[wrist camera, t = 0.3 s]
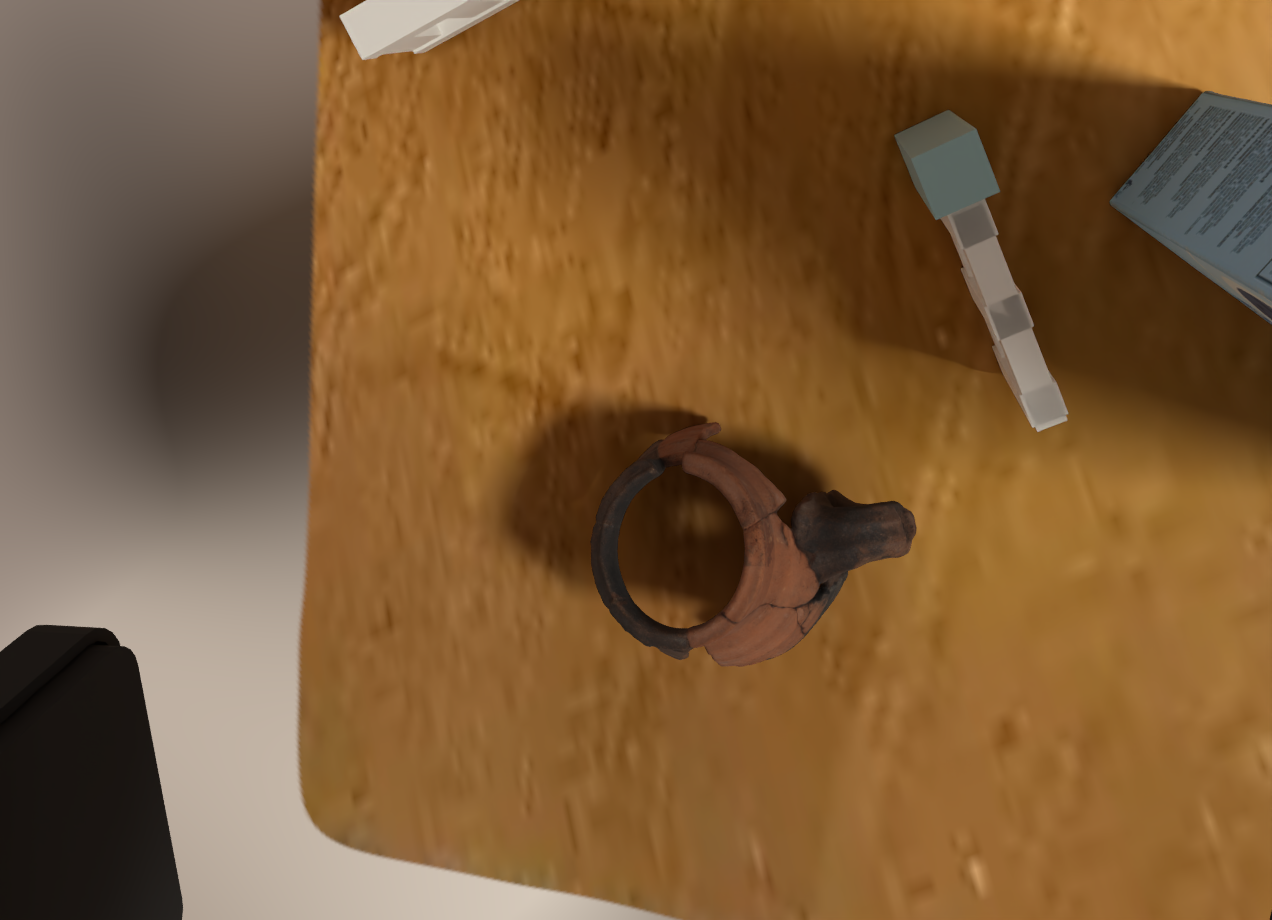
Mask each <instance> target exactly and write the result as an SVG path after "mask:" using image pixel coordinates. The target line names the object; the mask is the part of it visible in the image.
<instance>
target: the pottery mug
mask: <svg viewBox="0 0 1272 920" xmlns="http://www.w3.org/2000/svg"><path fill="white" fill-rule="evenodd" d="M720 431H721V427H720V425H719V423H716V422H714V423H706V424H701V425H696V426H692V427H688V428H685V429H683V430H680V431H677V432H675V433H673V434H671V435H669V436H668V437H666V438H665V439H664V440H658V441H656V442H655V443H654V444H652V445H651V446H650V447H649V448H648V449H647V450H646V451H645V452H644V453H643V454H642V456H641V457H639V459H638V460H637V461H636V462H634V463H633V464H632V465H631V466H629V467H628V468H627V469H626V470H624V472H622V473H621V475H620V476H619V477H618V478H617V479H616V480H615V481H614V483H613V484H612V485H611V486H610V487H609V489H608V491H607V492H606V494H605V496H604V497H603V499H602V501H601V504H600V506H599V509H598V512H597V515H596V524H595V525H594V527H593V534H592V538H591V566H592V571H593V575H594V579H595V584H596V586H597V589H598V592H599V594H600V595H601V598H602V601H603V603H604V605H605V606H606V607H607V608H608V609H609V611H610V613H611V614H612V616H613V617H614V618H615V619H616V620H617V622H618V623H620V624H621V626H622V627H623V628H624V630H625V631H627V632H629V633H630V634H631V635H632V636H633V637H634V638H636V639H637V640H639V641H640V642H642V643H643V644H644V645H645V646H649V647H651V646H654V647H657V648H658V649H659V650H660V651H661V652H663V653H665V654H667V655H669V656H671V657H673V658H675V659H679V660H682V659H685V658H687V657H688V656H689V653H688V652H689V651H690V650H691V649H693V648H697V647H701V646H705V648H706V650H707V652H708V654H709V655H711V656H712V658H713V659H714V660H715V661H716V662H717V663H718V664H719V665H720V666H739V667H741V666H746V665H752V664H756V663H758V662H761V661H764V660H768V659H771V658H774V657H777V656H779V655H781V654H783V653H785V652H787V651H788V650H790V649H791V648H793V647H794V646H795V645H796V644H797V643H798V642H800V641H801V640H802V639H803V638H804V637H805V636H806V635H807V633H808V632H809V631H810V630H811V629H812V628H813V626H814V625H815V624H816V623H817V621H818V620H819V619H820V618H821V616H822V615H823V614H824V612H825V611H826V610H827V609H828V607H829V606H830V604H831V603H832V602H833V601H834V599H835V597H836V596H837V594H838V592H839V591H840V589H841V587H842V585H843V583H844V581H845V580H846V578H847V575H848V571H849V570H852V569H855V568H858V567H860V566H862V565H864V564H866V563H869V562H872V561H876V560H881V559H886V558H898V557H901V556H904V555H905V554H907V553H908V552H909V550H910V548H911V543H912V539H913V537H914V536H915V534H916V524H915V519H914V516H913V514H912V512H911V511H909V510H907V509H905V508H904V507H903V506H902V505H901V504H900V503H898V502H895V501H889V502H880V503H874V504H859V503H855V502H853V501H851V500H849V499H848V498H846V497H844V496H843V495H842V494H841V493H839V492H838V491H836V490H832V491H830V492H828V493H827V494H826V492H820V493H816V492H812V493H809V494H807V495H806V496H805V497H804V498H803V499H802V501H801V502H800V503H799V504H798V505H797V506H796V507H795V509H794V511H793V515H792V518H791V524H792V529H790V528H789V527H788V526H787V525H786V524H785V523H783V522H782V521H781V519H780V518H779V517H778V515H777V511H778V510H779V509H780V507H782V506H783V505H784V503H785V502H786V498H785V496H784V495H783V494H782V492H781V491H780V490H778V489H777V488H776V486H775V485H774V484H773V483H772V482H771V481H770V480H769V479H767V478H766V477H765V476H764V475H763V473H762V472H761V471H760V470H759V469H758V468H757V467H755V466H754V465H753V464H751V463H749V462H748V461H746V460H745V459H743V458H742V457H740V456H739V455H738V454H737V453H735V452H733V451H732V450H731V449H729V448H727V447H725V446H723V445H721V444H718V443H715V442H712V441H707V440H706V439H707V438H708V437H710V436H712V435H715V434H717V433H719V432H720ZM677 465H682V469H683V471H684V472H686V473H688V474H691V475H695V476H697V477H699V478H702V479H703V480H706V481H707V482H709V483H711V484H712V485H714V486H715V487H716V488H717V489H718V490H719V491H720V492H721V493H722V494H723V495H724V497H725V498H726V499H727V500H728V502H729V503H730V505H731V506H732V508H733V510H734V512H735V514H736V516H737V518H738V520H739V522H740V525H741V527H742V528H743V530H744V544H745V554H744V566H743V571H742V575H741V578H740V582H739V584H738V587H737V589H736V591H735V593H734V595H733V597H732V599H731V600H730V602H729V603H728V604H727V605H726V606H725V608H724V609H723V610H722V611H721V612H720V613H718V614H717V615H716V616H715V617H714V618H712V619H710V620H709V621H707V622H705V623H703V624H700V625H697V626H693V627H690V628H688V629H687V628H683V629H681V628H673V627H669V626H666V625H663V624H661V623H659V622H657V621H655V620H653V619H651V618H650V617H649V616H647V615H646V614H645V613H644V612H643V611H642V610H641V609H640V608H639V607H638V606H637V605H636V604H635V603H634V601H633V600H632V598H631V597H630V595H629V593H628V591H627V589H626V587H625V585H624V581H623V579H622V576H621V573H620V569H619V563H618V553H617V549H618V537H619V531H620V526H621V523H622V520H623V517H624V514H625V512H626V509H627V507H628V506H629V504H630V502H631V500H632V499H633V498H634V496H635V495H636V494H637V493H638V492H639V491H640V490H641V489H642V488H643V487H644V486H645V485H646V484H647V483H649V482H650V481H651V480H653V479H655V478H657V477H658V476H660V475H661V474H662V473H663V472H664V470H665V468H666V467H671V466H677ZM821 583H822V585H821V587H820V589H819V586H820V584H821Z"/></svg>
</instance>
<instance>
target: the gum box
mask: <svg viewBox="0 0 1272 920" xmlns="http://www.w3.org/2000/svg"><path fill="white" fill-rule="evenodd" d="M1109 203H1110V205H1111V206H1112V207H1114V208H1115V209H1116V210H1118V211H1119V212H1120V213H1122V214H1123V215H1125V216H1126V217H1127V218H1129V219H1130V220H1131V221H1133V222H1134V223H1135V224H1137V225H1138V226H1139V227H1141V228H1142V229H1143V230H1144V231H1146V232H1147V233H1148V234H1150V235H1151V236H1152V237H1154V238H1155V239H1156V240H1158V241H1159V242H1160V243H1162V244H1163V245H1164V246H1166V247H1167V248H1168V249H1170V250H1171V251H1172V252H1174V253H1175V254H1176V255H1178V256H1179V257H1180V258H1182V259H1183V260H1184V261H1186V262H1187V263H1188V264H1190V265H1191V266H1192V267H1194V268H1195V269H1197V270H1198V271H1199V272H1201V273H1202V274H1203V275H1205V276H1206V277H1207V278H1209V279H1210V280H1212V281H1213V282H1214V283H1216V284H1217V285H1218V286H1220V287H1221V288H1223V289H1224V290H1225V291H1227V292H1228V293H1229V294H1231V295H1232V296H1233V297H1235V298H1236V299H1238V300H1239V301H1240V302H1242V303H1243V304H1244V305H1246V306H1247V307H1248V308H1250V309H1251V310H1252V311H1254V312H1255V313H1256V314H1258V315H1259V316H1260V317H1262V318H1263V319H1264V320H1266V321H1267V322H1269V323H1270V324H1271V325H1272V105H1271V104H1266V103H1260V102H1256V101H1251V100H1246V99H1241V98H1236V97H1231V96H1226V95H1222V94H1218V93H1214V92H1212V91H1205V92H1203V93H1202V94H1201V95H1200V96H1199V97H1198V99H1197V100H1196V101H1195V102H1194V103H1193V104H1192V106H1191V107H1190V108H1189V109H1188V110H1187V112H1186V113H1185V114H1184V115H1183V116H1182V117H1181V119H1180V120H1179V121H1178V122H1177V123H1176V125H1175V126H1174V127H1173V128H1172V129H1171V130H1170V132H1169V133H1168V134H1167V135H1166V136H1165V138H1164V139H1163V140H1162V141H1161V142H1160V144H1159V145H1158V146H1157V147H1156V148H1155V149H1154V151H1153V152H1152V153H1151V154H1150V155H1149V156H1148V157H1147V159H1146V160H1145V161H1144V162H1143V163H1142V164H1141V165H1140V167H1139V168H1138V169H1137V170H1136V171H1135V172H1134V173H1133V175H1132V176H1131V177H1130V178H1129V179H1128V180H1127V181H1126V183H1125V184H1124V185H1123V186H1122V187H1121V188H1120V189H1119V191H1118V192H1117V193H1116V194H1115V195H1114V196H1113V198H1112V199H1111V200H1110V202H1109Z"/></svg>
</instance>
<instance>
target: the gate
mask: <svg viewBox="0 0 1272 920" xmlns="http://www.w3.org/2000/svg"><path fill="white" fill-rule="evenodd" d="M517 1H519V0H366V1H364V2H363V3H361V4H359V5H357V6H356V7H354V8H352V9H350V10H349V11H347V12H345V13H343V14H342V15H340V16H339V17H340V18H341V20H342V22H343V24H344V26H345V28H346V30H347V32H348V34H349V36H350V37H351V39H352V41H353V43H354V45H355V47H356V49H357V51H358V53H359V55H360V56H361V58H362V60H365V59H374V58H377V57H379V56H381V55H382V54H390V53H399V52H408V51H413V52H414V54H416V53H425V52H427V51H428V50H430V49H432V48H434V47H436V46H437V45H439V44H441V43H443V42H445V41H447V40H448V39H450V38H452V37H454V36H456V35H457V34H459V33H461V32H463V31H465V30H466V29H468V28H470V27H472V26H474V25H476V24H477V23H479V22H481V21H483V20H485V19H486V18H488V17H490V16H492V15H494V14H496V13H497V12H499V11H501V10H503V9H505V8H506V7H508V6H510V5H512V4H514V3H515V2H517Z"/></svg>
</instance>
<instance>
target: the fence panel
mask: <svg viewBox="0 0 1272 920" xmlns="http://www.w3.org/2000/svg"><path fill="white" fill-rule="evenodd" d="M940 219H941V220H942V222H943V223H944V225H945V226H946V228H947V229H948V231H949V232H950V234H951V237H952V239H953V242H954V244H955V247H956V249H957V252H958V254H959V257H960V259H961V262H962V264H963V268H961V271H962V274H963V276H964V279H965V281H966V284H967V286H968V289H969V291H970V294H971V296H972V298H973V300H974V302H975V304H976V305H977V307H978V309H979V310H980V312H981V314H982V315H983V317H984V319H985V321H986V324H987V326H988V329H989V331H990V334H991V336H992V339H993V341H994V344H995V345H994V346H992V348H993V351H994V353H995V356H996V358H997V361H998V363H999V366H1000V368H1001V371H1002V373H1003V375H1004V377H1005V379H1006V381H1007V383H1008V384H1009V386H1010V388H1011V390H1012V392H1013V394H1014V395H1015V397H1016V399H1017V401H1018V403H1019V404H1020V406H1021V408H1022V410H1023V412H1024V414H1025V415H1026V417H1027V419H1028V421H1029V423H1030V424H1031V426H1032V428H1033V427H1035V428H1036V430H1037V432H1039V431H1041V430H1044V429H1046V428H1049V427H1052V426H1054V425H1057V424H1060V423H1062V422H1065V421H1067V417H1066V415H1067V414H1069V413H1068V411H1067V408H1066V406H1065V403H1064V401H1063V398H1062V395H1061V393H1060V390H1059V388H1058V385H1057V383H1056V381H1055V379H1054V378H1053V376H1052V375H1051V373H1050V372H1049V370H1048V369H1047V366H1046V363H1045V361H1044V358H1043V356H1042V353H1041V351H1040V348H1039V346H1038V343H1037V340H1036V338H1035V335H1034V333H1033V330H1032V328H1031V327H1034V324H1033V321H1032V318H1031V316H1030V313H1029V311H1028V308H1027V306H1026V303H1025V300H1024V298H1023V295H1022V293H1021V291H1020V290H1019V289H1018V287H1017V286H1016V285H1015V283H1014V281H1013V279H1012V276H1011V274H1010V271H1009V269H1008V266H1007V263H1006V261H1005V258H1004V256H1003V253H1002V251H1001V248H1000V246H999V243H998V240H997V238H996V235H998V231H997V228H996V226H995V223H994V221H993V218H992V216H991V213H990V210H989V208H988V205H987V203H986V200H985V199H983V200H981V201H978V202H976V203H974V204H971V205H969V206H967V207H965V208H962V209H960V210H958V211H956V212H953V213H951V214H949V215H947V216H944V217H942V218H940Z"/></svg>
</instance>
